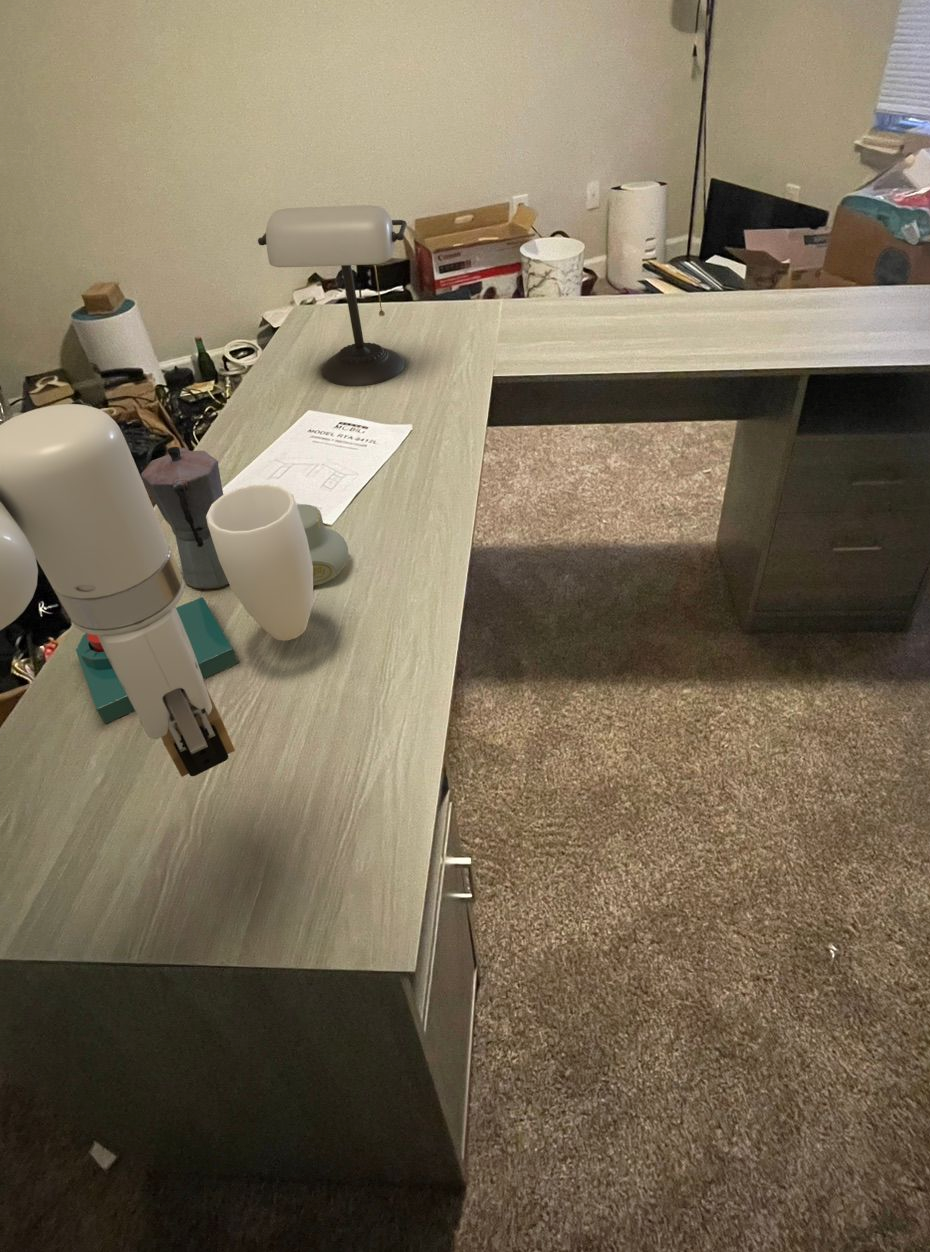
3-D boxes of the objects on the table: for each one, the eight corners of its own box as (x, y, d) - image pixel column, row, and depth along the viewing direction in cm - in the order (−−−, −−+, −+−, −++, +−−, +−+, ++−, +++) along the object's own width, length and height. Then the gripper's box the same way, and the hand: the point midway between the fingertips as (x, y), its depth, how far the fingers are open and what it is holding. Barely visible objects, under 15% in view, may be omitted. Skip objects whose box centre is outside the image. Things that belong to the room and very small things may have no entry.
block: (181, 777, 60) (163, 743, 57) (167, 740, 63) (149, 707, 60) (235, 750, 62) (220, 717, 59) (219, 716, 65) (204, 682, 62)
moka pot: (241, 534, 113) (203, 418, 100) (262, 593, 103) (221, 472, 90) (177, 552, 110) (128, 435, 97) (191, 615, 99) (138, 493, 87)
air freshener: (350, 548, 110) (338, 493, 103) (352, 584, 103) (340, 527, 97) (275, 559, 108) (258, 504, 102) (273, 596, 102) (255, 539, 96)
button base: (105, 724, 86) (89, 699, 83) (83, 661, 94) (68, 636, 91) (238, 663, 92) (228, 638, 90) (207, 609, 100) (197, 584, 97)
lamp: (286, 402, 146) (241, 221, 125) (310, 351, 165) (274, 186, 143) (418, 398, 146) (396, 216, 124) (427, 347, 165) (409, 181, 143)
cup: (250, 680, 90) (197, 543, 76) (254, 623, 98) (206, 489, 84) (336, 665, 92) (298, 527, 78) (332, 609, 100) (298, 475, 86)
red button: (96, 657, 88) (90, 647, 87) (89, 638, 91) (83, 628, 90) (130, 643, 90) (125, 633, 89) (123, 625, 93) (117, 615, 91)
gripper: (42, 542, 54) (131, 701, 66) (87, 682, 44) (183, 843, 55) (147, 507, 58) (213, 665, 69) (212, 630, 47) (278, 792, 59)
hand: (199, 743), depth 62 cm, fingers closed on block, 4 cm apart
